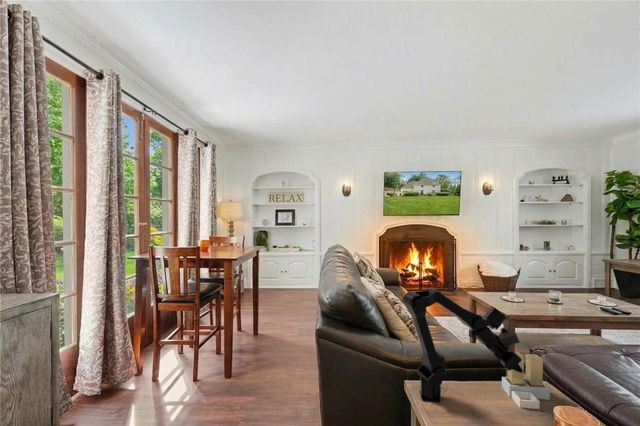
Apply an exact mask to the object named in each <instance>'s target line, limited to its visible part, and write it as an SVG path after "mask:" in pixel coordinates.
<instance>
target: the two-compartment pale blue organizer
mask: <svg viewBox="0 0 640 426" xmlns="http://www.w3.org/2000/svg"><path fill="white" fill-rule="evenodd" d="M501 388H502V389H503V391H505V393H506V394H507V396H508V397H509V398H512V391H525V392H531V393H532V394H533V395H534V396H535V397H536V398H537V400H547V401H549V400H550V397H551V395H550V394H551V393H550V392H551V391H550V388H549V387H548V386H547V385H546V384H545V383H544V382H543V387H530V386H529V385H528V384H527V383H526V377H524V386H515V385H510V383H509V382H508V376H501Z"/></svg>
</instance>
